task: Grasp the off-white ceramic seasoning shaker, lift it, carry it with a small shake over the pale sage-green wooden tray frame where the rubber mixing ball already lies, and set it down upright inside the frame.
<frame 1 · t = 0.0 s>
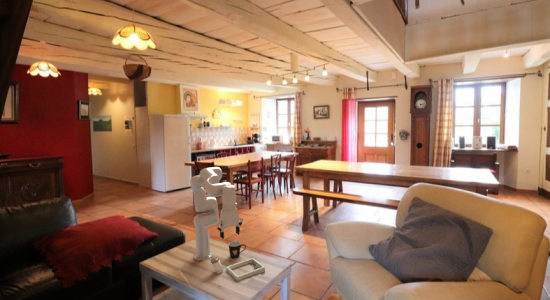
hand: (230, 235, 162), 31 cm above the table, fingers open, 9 cm apart
tray frame: (245, 271, 182), on the table
mixing ball: (256, 271, 182), resting in tray frame
coffee mug: (236, 257, 201), on the table
shaker: (219, 271, 181), point 1 cm above the table, tilted 18°
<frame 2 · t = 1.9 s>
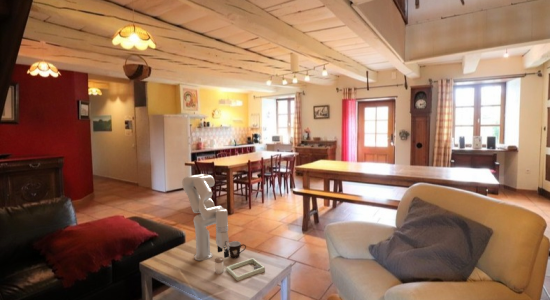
hand: (223, 254, 180), 12 cm above the table, fingers open, 9 cm apart
shaker: (219, 272, 181), on the table
everything else where it was.
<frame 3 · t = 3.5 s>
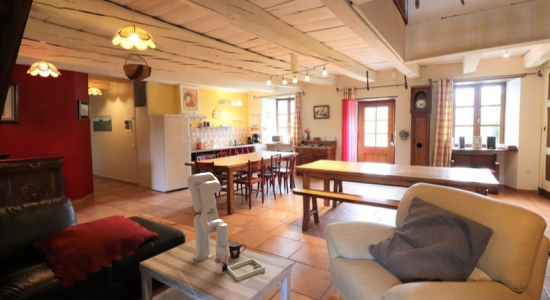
hand: (223, 269, 182), 2 cm above the table, fingers closed on shaker, 4 cm apart
shaker: (219, 272, 181), on the table, touching gripper
everything else where it was.
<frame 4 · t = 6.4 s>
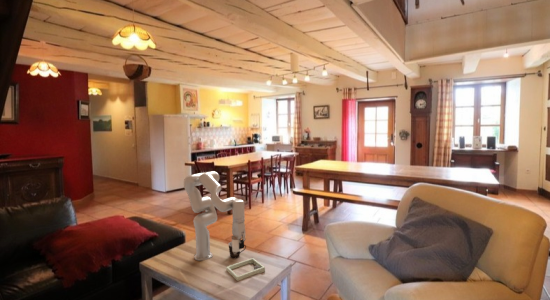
hand: (239, 246, 180), 17 cm above the table, fingers closed on shaker, 4 cm apart
shaker: (236, 250, 179), point 15 cm above the table, touching gripper
everything else where it was.
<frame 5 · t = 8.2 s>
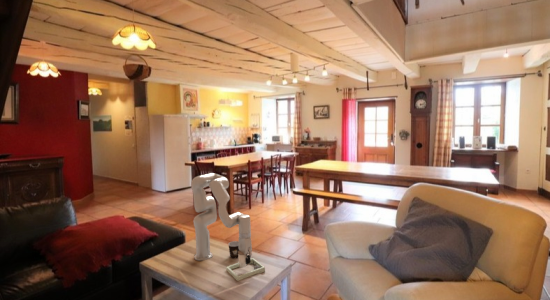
hand: (245, 261, 181), 7 cm above the table, fingers closed on shaker, 4 cm apart
shaker: (242, 265, 180), point 5 cm above the table, touching gripper
everything else where it was.
when the fingers open (3 cm above the table, at t = 9.4 s): shaker drops 2 cm, resting in tray frame.
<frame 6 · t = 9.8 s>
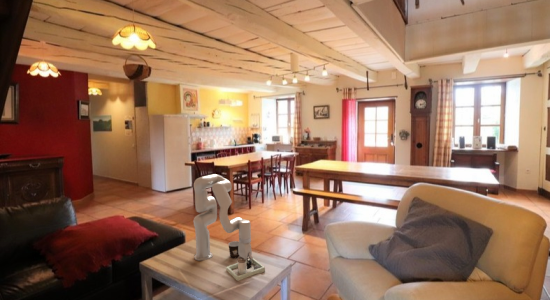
hand: (245, 265, 182), 4 cm above the table, fingers open, 8 cm apart
shaker: (242, 272, 181), resting in tray frame
everything else where it was.
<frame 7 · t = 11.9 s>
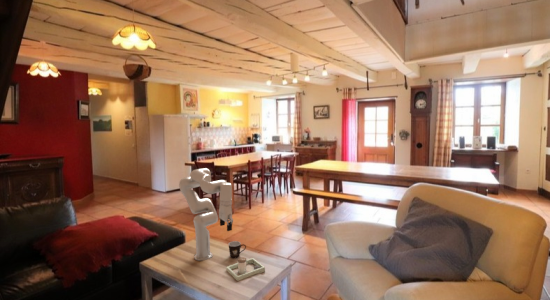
hand: (225, 227, 180), 29 cm above the table, fingers open, 9 cm apart
nothing on the table moved.
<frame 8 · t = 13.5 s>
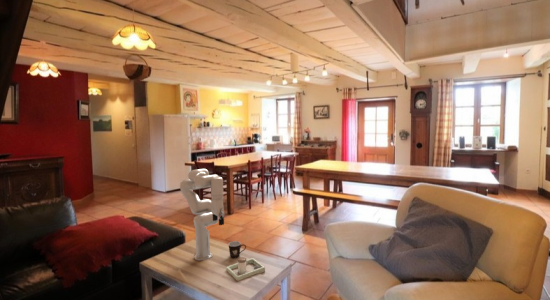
hand: (218, 222, 180), 32 cm above the table, fingers open, 9 cm apart
nothing on the table moved.
at the end: shaker inside the target area (2.5 cm from its centre), resting in tray frame; shaker tilted 0°; the gripper is holding nothing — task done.
